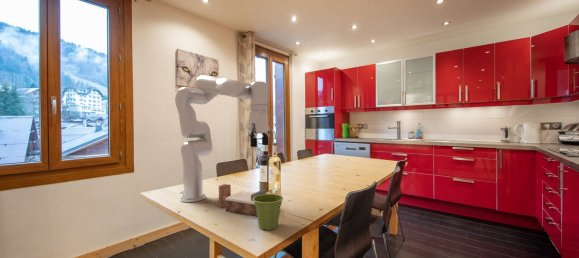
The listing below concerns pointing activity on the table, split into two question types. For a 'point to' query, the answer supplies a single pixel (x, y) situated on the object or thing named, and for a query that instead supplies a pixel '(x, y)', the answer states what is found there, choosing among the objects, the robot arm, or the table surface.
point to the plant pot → (268, 210)
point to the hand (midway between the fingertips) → (259, 145)
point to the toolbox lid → (245, 196)
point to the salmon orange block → (224, 194)
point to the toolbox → (241, 208)
